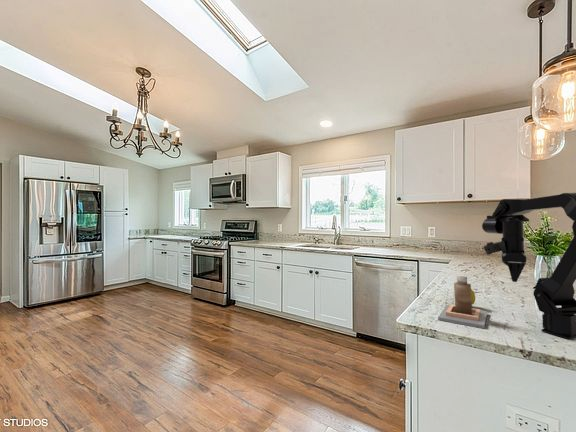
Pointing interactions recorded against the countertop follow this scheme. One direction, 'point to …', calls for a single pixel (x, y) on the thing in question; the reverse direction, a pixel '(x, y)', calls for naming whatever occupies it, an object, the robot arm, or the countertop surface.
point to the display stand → (464, 317)
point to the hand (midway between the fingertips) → (514, 279)
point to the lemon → (472, 296)
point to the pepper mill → (462, 296)
